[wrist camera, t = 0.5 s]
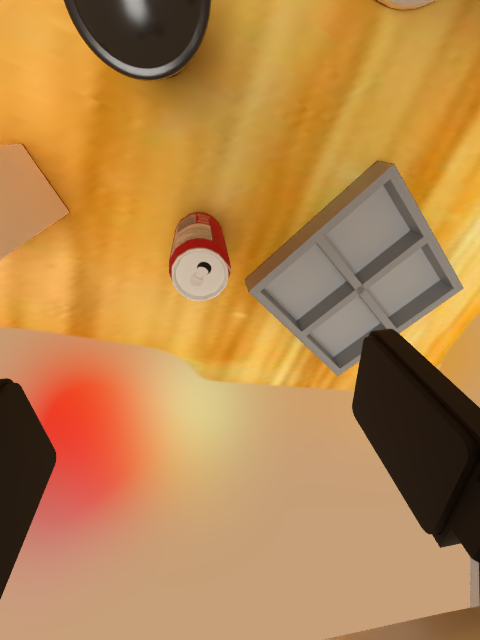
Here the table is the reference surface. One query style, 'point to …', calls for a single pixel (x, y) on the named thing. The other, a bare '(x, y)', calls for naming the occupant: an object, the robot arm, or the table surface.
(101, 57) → the drinking cup
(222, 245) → the soda can
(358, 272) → the drink carrier
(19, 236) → the milk carton
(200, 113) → the table surface
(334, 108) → the table surface
